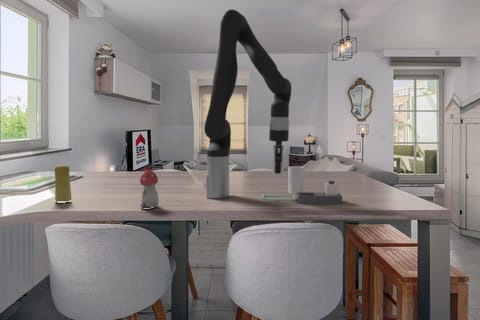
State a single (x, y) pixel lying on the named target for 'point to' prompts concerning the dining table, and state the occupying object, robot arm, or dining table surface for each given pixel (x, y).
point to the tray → (274, 198)
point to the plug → (274, 167)
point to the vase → (62, 183)
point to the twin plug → (331, 188)
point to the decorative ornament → (149, 189)
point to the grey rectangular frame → (318, 198)
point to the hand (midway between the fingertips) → (277, 172)
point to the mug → (295, 179)
